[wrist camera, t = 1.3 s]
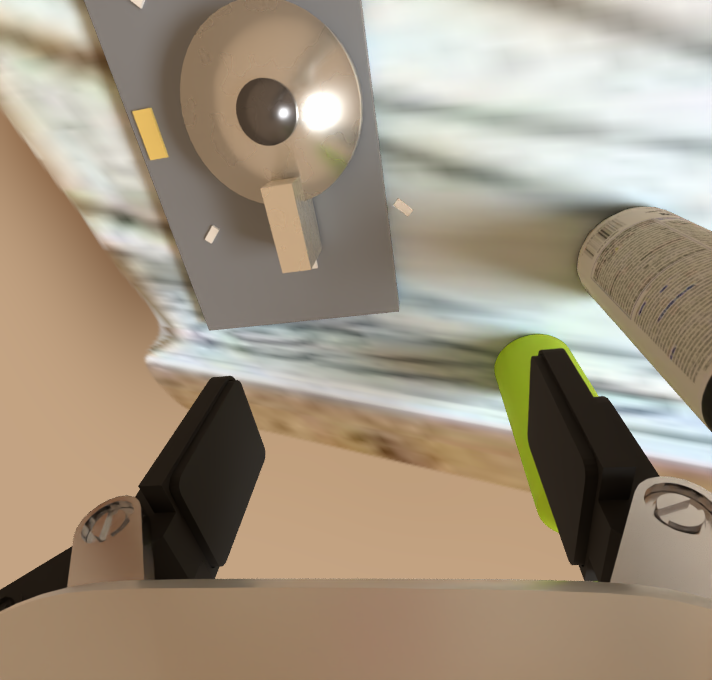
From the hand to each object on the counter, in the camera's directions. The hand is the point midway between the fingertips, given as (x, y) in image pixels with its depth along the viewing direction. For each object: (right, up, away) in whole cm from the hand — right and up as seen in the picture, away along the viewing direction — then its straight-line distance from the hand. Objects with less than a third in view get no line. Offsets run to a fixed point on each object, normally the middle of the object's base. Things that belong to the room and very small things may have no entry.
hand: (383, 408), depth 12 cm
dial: (-5, +14, +14) cm, 20 cm away
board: (-7, +13, +16) cm, 22 cm away
